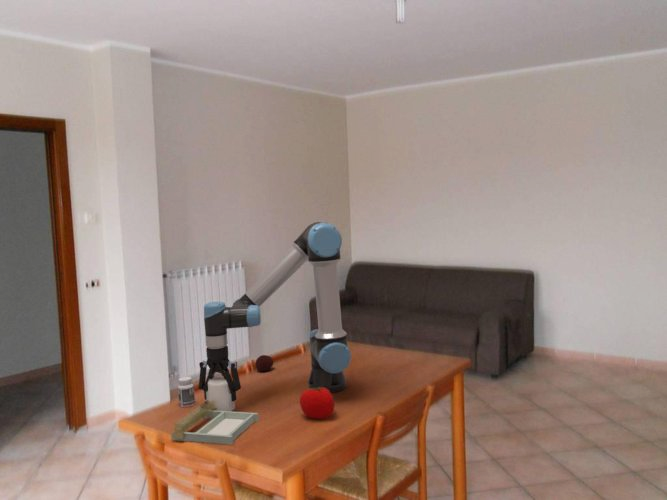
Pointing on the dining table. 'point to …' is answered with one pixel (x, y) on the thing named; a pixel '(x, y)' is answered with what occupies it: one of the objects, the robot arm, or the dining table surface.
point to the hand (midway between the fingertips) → (221, 409)
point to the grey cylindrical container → (219, 392)
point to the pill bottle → (186, 392)
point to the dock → (221, 427)
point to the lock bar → (192, 419)
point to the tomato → (317, 403)
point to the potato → (264, 363)
